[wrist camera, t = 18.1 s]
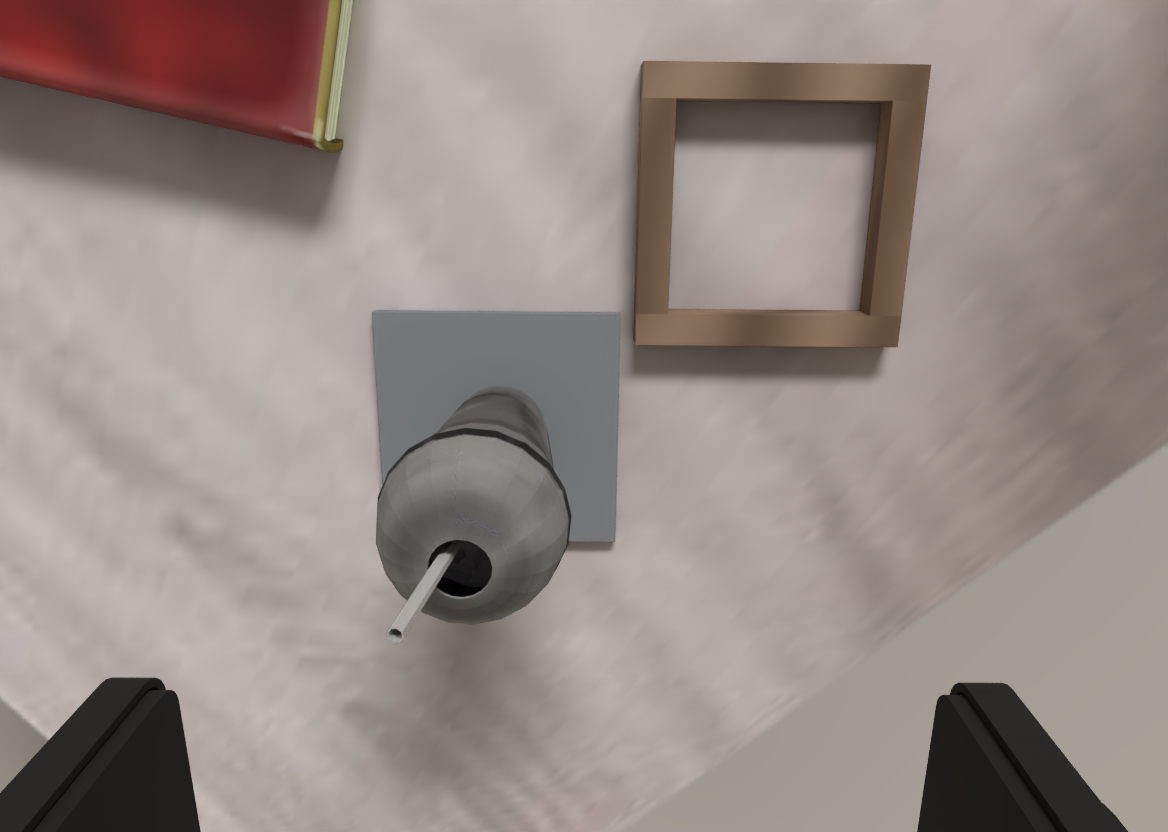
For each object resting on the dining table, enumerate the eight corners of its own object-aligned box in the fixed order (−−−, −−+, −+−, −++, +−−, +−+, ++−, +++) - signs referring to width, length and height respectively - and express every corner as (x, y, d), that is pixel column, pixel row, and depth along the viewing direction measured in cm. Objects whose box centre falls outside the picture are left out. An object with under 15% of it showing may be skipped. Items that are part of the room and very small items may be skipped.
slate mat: (620, 312, 41) (620, 314, 41) (614, 536, 45) (615, 541, 44) (374, 310, 41) (371, 312, 41) (388, 535, 45) (385, 540, 44)
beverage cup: (552, 511, 44) (533, 780, 25) (414, 477, 43) (284, 725, 24) (589, 379, 42) (600, 559, 23) (445, 342, 41) (330, 494, 22)
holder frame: (917, 68, 38) (931, 64, 37) (886, 340, 42) (897, 347, 41) (641, 65, 38) (643, 60, 37) (633, 338, 42) (635, 344, 40)
